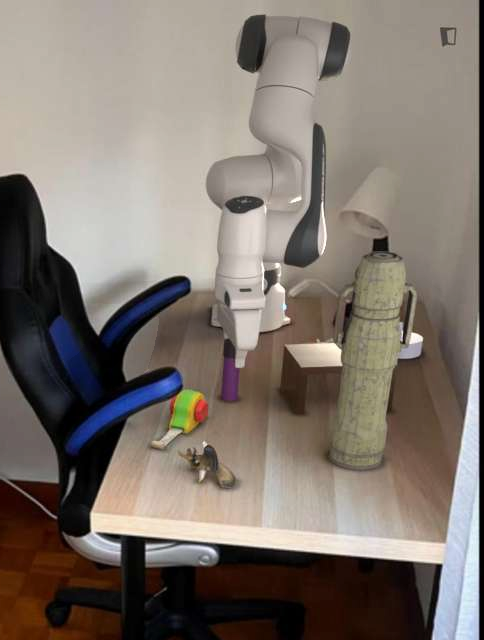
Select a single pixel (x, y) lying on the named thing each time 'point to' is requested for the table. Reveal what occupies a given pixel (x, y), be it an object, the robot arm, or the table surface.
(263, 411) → the table surface
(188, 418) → the toy measuring tape
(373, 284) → the thermos
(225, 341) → the marker
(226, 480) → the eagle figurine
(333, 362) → the small wooden stool
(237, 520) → the table surface
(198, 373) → the table surface
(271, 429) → the table surface
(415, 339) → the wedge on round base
